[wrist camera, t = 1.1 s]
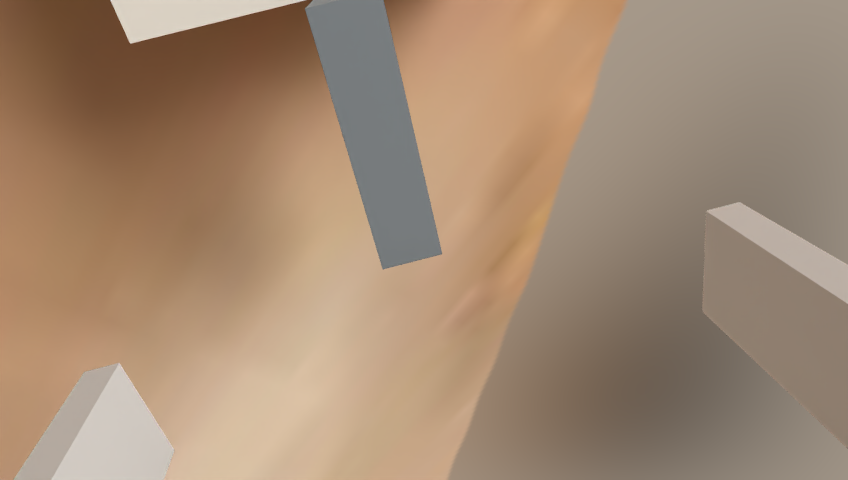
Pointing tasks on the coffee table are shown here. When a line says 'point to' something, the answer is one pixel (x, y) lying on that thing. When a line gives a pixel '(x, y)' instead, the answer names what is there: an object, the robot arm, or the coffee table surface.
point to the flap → (340, 105)
